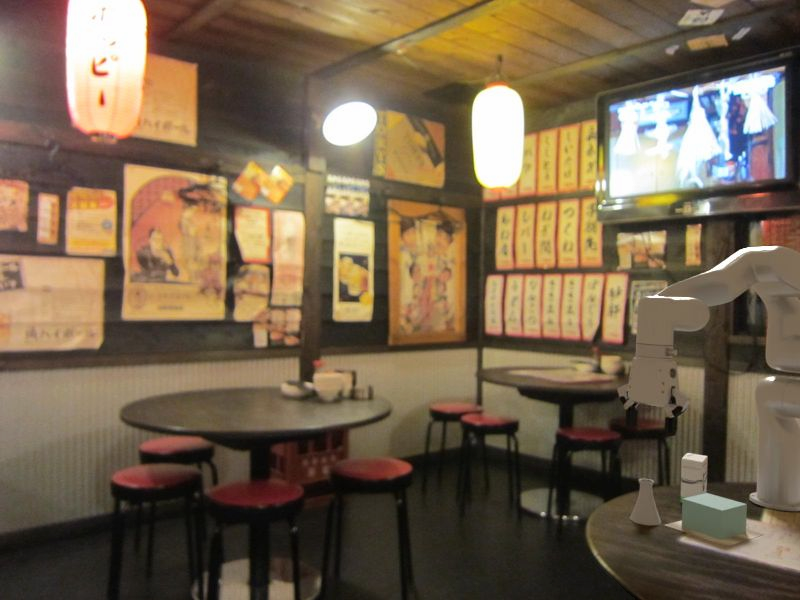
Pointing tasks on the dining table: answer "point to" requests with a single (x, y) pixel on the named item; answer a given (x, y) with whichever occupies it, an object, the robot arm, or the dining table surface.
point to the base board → (725, 542)
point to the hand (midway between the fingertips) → (650, 431)
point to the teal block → (714, 516)
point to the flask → (645, 505)
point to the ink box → (693, 475)
